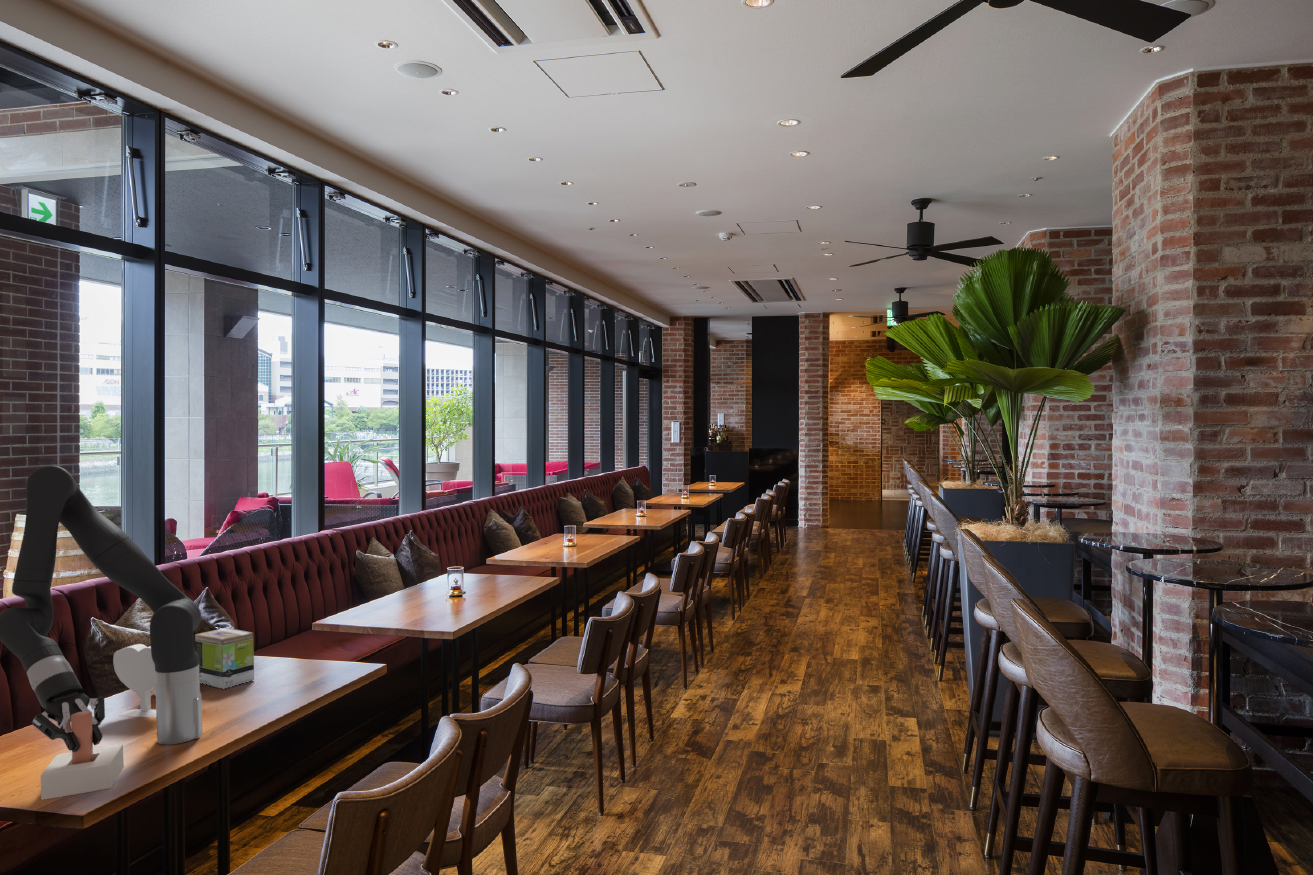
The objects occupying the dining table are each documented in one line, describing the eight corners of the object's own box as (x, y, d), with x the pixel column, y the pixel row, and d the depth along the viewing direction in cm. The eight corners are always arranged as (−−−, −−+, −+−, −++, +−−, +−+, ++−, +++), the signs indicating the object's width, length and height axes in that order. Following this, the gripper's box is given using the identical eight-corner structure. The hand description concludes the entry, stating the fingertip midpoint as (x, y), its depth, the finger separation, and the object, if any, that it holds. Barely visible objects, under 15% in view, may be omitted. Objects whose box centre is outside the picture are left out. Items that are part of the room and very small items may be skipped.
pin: (92, 764, 173) (91, 709, 173) (93, 770, 170) (92, 714, 170) (71, 769, 170) (70, 713, 170) (72, 775, 168) (71, 718, 168)
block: (123, 766, 178) (122, 744, 178) (111, 787, 167) (110, 764, 167) (58, 776, 173) (57, 754, 173) (41, 799, 162) (40, 775, 162)
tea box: (255, 680, 239) (254, 631, 239) (222, 690, 231) (221, 639, 231) (227, 673, 247) (226, 626, 247) (194, 682, 239) (193, 633, 239)
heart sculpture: (178, 710, 214) (176, 643, 214) (164, 717, 209) (162, 648, 209) (127, 708, 217) (125, 642, 217) (112, 715, 212) (110, 647, 212)
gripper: (23, 680, 167) (57, 747, 162) (95, 662, 180) (129, 724, 174) (10, 702, 169) (43, 769, 164) (82, 682, 182) (115, 744, 177)
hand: (87, 745), depth 169 cm, fingers closed on pin, 3 cm apart
